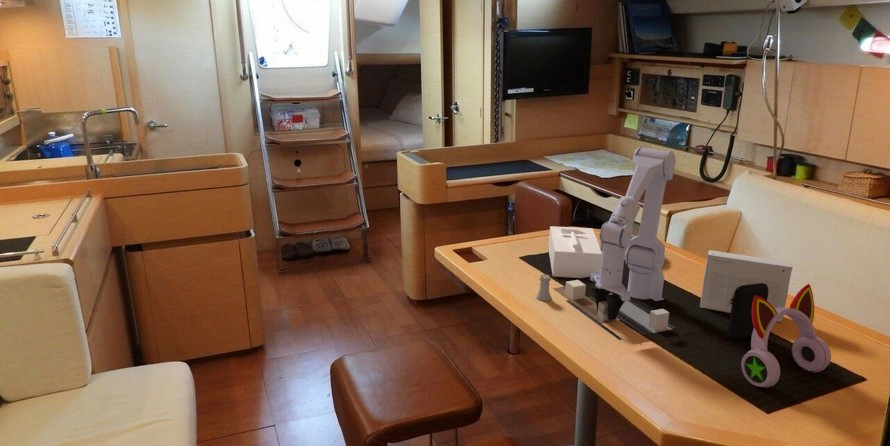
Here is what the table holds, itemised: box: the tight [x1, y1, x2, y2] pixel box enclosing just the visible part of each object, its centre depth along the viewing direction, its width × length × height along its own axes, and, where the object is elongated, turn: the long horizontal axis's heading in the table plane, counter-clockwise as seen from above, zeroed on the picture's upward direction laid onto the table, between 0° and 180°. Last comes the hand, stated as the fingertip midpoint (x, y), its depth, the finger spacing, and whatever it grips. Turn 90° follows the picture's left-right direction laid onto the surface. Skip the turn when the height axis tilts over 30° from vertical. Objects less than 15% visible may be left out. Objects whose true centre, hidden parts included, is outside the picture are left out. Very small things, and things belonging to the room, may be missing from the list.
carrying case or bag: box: [726, 283, 769, 340], centre depth 160 cm, size 11×3×15 cm, turn 106°
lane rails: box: [565, 296, 677, 341], centre depth 171 cm, size 18×24×1 cm
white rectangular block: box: [548, 225, 602, 279], centre depth 208 cm, size 14×25×11 cm, turn 174°
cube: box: [565, 279, 587, 300], centre depth 181 cm, size 4×4×4 cm
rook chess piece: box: [535, 273, 552, 302], centre depth 179 cm, size 4×4×8 cm
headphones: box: [740, 283, 832, 388], centre depth 142 cm, size 20×10×20 cm, turn 115°
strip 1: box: [552, 285, 621, 325], centre depth 177 cm, size 6×24×6 cm, turn 22°
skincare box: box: [699, 249, 793, 323], centre depth 175 cm, size 21×5×16 cm, turn 65°
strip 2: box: [609, 292, 672, 334], centre depth 172 cm, size 6×24×6 cm, turn 22°
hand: (606, 315), depth 168 cm, fingers open, 4 cm apart
